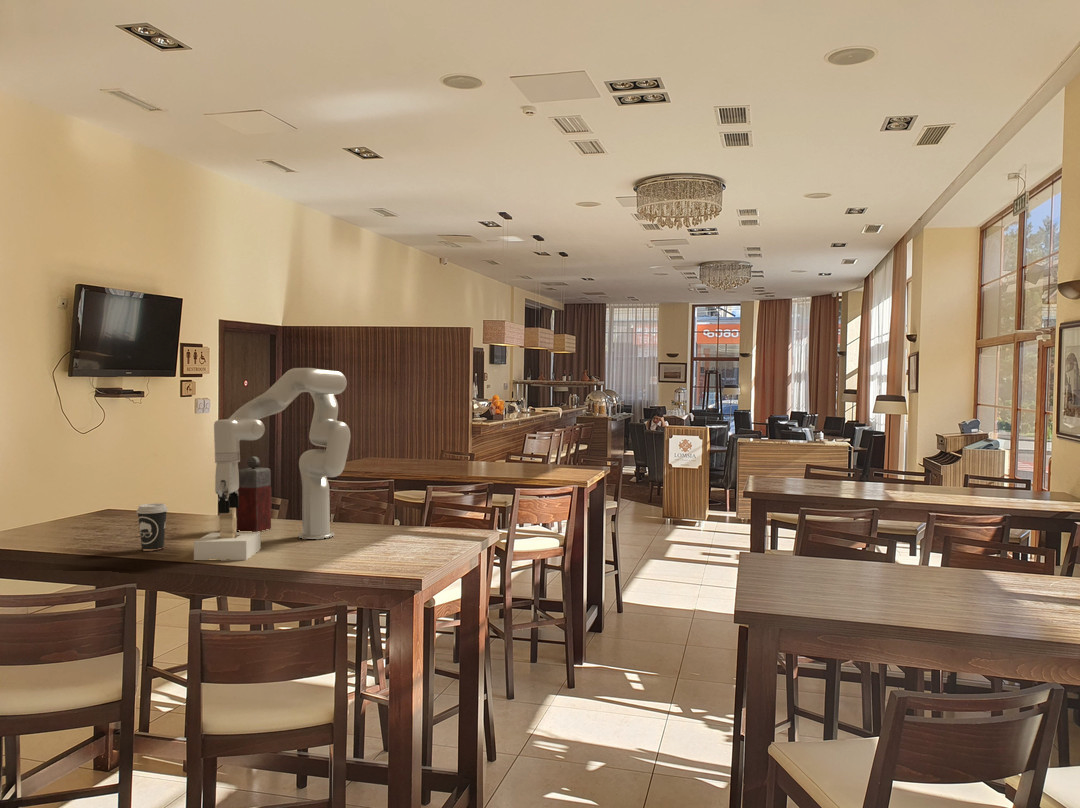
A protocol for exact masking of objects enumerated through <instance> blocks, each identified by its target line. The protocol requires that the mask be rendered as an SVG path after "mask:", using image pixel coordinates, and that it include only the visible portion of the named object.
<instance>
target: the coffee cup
mask: <svg viewBox="0 0 1080 808" xmlns="http://www.w3.org/2000/svg"><path fill="white" fill-rule="evenodd" d="M168 511H169V508H168V507H167V506H166V504H165V503H147V504H145V503H144V504H139V505H138V508H137V510H136V512H135V513H136V514H137V516H138V527H139V534H140V544H141V550H142V549H158V548H162V547H165V534H166V524H167V514H168V513H167V512H168Z"/></svg>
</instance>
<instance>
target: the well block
mask: <svg viewBox="0 0 1080 808" xmlns="http://www.w3.org/2000/svg"><path fill="white" fill-rule="evenodd" d="M261 546H262V544H261V532H237V531H236V538H221V539H220V531H219V532H214V531H213V532H212V531H211V532H209V533H208V534H206V535H204V536H202V537H200V538H198V539H197V540H195V541H193V561H194V560H209V559H220V560H221V561H227V560H226V559H230V560H229V561H247V560H248V558H249V559H250V558H251V557H252V555H253V556H254V555H255V554H257V553H258V552H260V551H261V550H260V549H261V548H262V547H261ZM256 552H257V553H256Z"/></svg>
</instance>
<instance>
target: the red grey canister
mask: <svg viewBox="0 0 1080 808" xmlns="http://www.w3.org/2000/svg"><path fill="white" fill-rule="evenodd" d="M260 464H261V462H260V459H259V457H258V456H250V457H248V458H247V460H246V465H247V468H240V469H239V468H238V471H239V489H238V492H239V495H238V496H239V508H236V531H237V530H240V531H252V532H258V531H262V530H265V531H267V530H266V529H269V530H271V529H272V487H271V483H272V482H271V481H272V480H271V469H270V468H269V467H259V466H260ZM270 528H271V529H270ZM262 532H263V531H262Z"/></svg>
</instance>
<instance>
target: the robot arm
mask: <svg viewBox="0 0 1080 808" xmlns="http://www.w3.org/2000/svg"><path fill="white" fill-rule="evenodd" d="M347 384H348V381H347V378H346V376H345V375H344V373H342V372H341V371H338V370H331V369H323V368H315V367H293V368H290V369H289V370H287V371H286V372H285V373H283V375H281V376H280V377H279V379H277V381H275V383H273V384H272V386H270V387H269V388H268V389H267V390H266V391H265V392H264V393H262V394H260V395H258V396H256V397H255V398H252V399H251V400H250V401H248V402H246V403H244V404H243V405H242V406H241V407H239V408H238V409H237V410H236V411H235V412H234V413H233V414H232V415H230V417H229V418H227V419H226V418H225V419H217V420H216V421H215V422H214V423H213V436H214V438H213V440H214V464H215V476H214V477H215V480H214V481H215V483H214V486H215V487H214V492H215V494H216V495H217V497H218V498H217V501H218V504H217V505H218V514H220V513H229V512H230V508H236V509H237V508H239V496H238V495H239V492H238V489H239V471H238V470H239V463H240V462H241V454H240V453H241V452H240V451H241V450H240V449H241V448H240V441H250V442H251V441H257V440H259V439H261V438H262V437H263V436H264V434H265V431H266V427H265V425H264V423H263V421H262V419H264V418H266V417H269V416H272V415H276V414H278V413H281V412H283V411H284V410H286V408H287V407H288V406H289V405H290V404H291V403H292V402H293V401H294V400H295V399H296V398H297V397H299V395H300V394H302V393H309V394H310V396H311V398H312V400H313V403H314V409H313V415H312V420H311V424H310V427H309V428H310V429H309V434H308V437H309V442H310V443H311V444H312V445H314V446H316V447H317V446H318V447H325V448H326V449H315V448H313V449H309V450H306V451H304V452H303V453H302V454H301V455H300V457H299V460H298V468H299V472H300V479H301V489H302V490H301V499H302V500H301V506H302V508H301V509H302V510H301V511H302V512H301V513H302V515H301V519H302V532H300V533H298V534H297V537H299V538H298V539H300V538H302V539H301V540H306V539H316V540H325V539H324V538H326V539H329V537H330V538H333V537H334V536H335V532H334V531H332V530H331V526H330V525H331V516H330V515H331V514H330V513H331V511H330V509H331V506H330V505H331V504H330V501H331V499H330V498H331V497H330V492H331V491H330V484H329V481H328V478H336V477H339V476H340V475H342V473H343V472H344V469H345V467H346V463H347V459H348V453H349V448H350V443H351V430H350V427H349V425H347V423H346V422H344V421H341V420H338V415H339V403H338V399H336V397H335V396H336V395H340V394H342V393H343V392H345V390H346V388H347V386H348V385H347ZM260 419H261V420H260ZM332 536H333V537H332Z"/></svg>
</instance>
